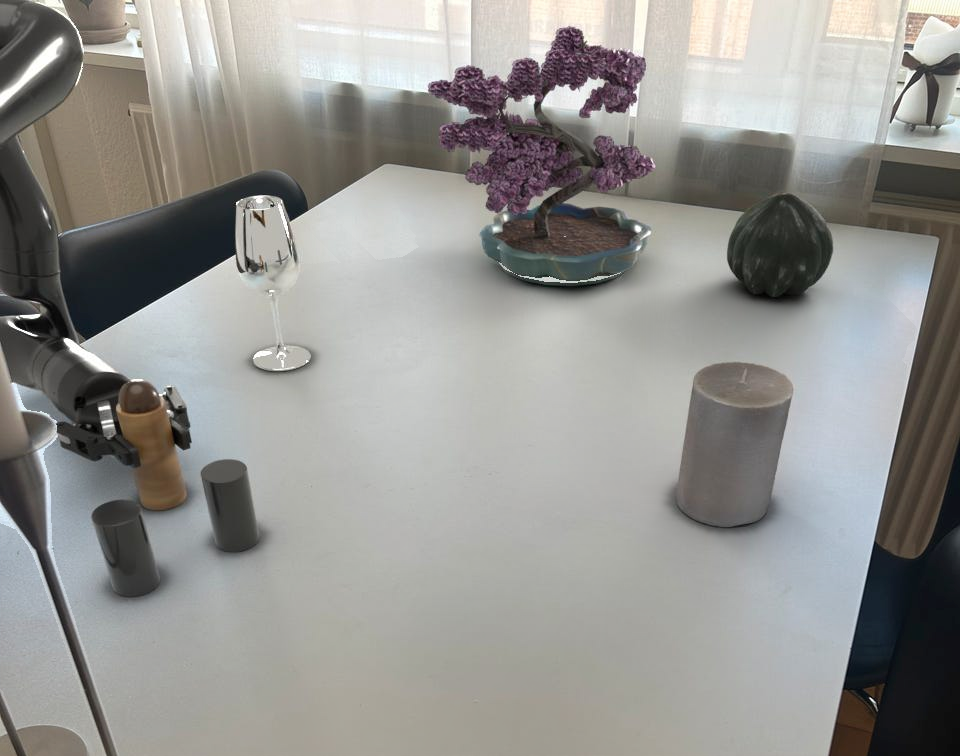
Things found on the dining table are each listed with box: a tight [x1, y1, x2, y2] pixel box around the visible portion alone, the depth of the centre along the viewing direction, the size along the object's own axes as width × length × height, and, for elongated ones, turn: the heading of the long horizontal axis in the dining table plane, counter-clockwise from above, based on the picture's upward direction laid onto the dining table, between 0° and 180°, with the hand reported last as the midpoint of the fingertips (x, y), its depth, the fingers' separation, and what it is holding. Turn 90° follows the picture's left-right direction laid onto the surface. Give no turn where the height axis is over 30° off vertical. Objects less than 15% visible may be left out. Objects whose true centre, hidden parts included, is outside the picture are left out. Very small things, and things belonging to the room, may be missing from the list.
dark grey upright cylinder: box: [90, 499, 161, 598], centre depth 93 cm, size 4×4×8 cm
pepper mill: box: [116, 378, 188, 511], centre depth 103 cm, size 5×5×14 cm
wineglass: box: [234, 195, 312, 372], centre depth 126 cm, size 8×8×20 cm
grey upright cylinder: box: [200, 458, 260, 553], centre depth 98 cm, size 4×4×8 cm
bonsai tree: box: [427, 25, 657, 287], centre depth 148 cm, size 35×27×32 cm
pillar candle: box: [675, 361, 794, 528], centre depth 101 cm, size 10×10×15 cm
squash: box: [726, 191, 834, 298], centre depth 147 cm, size 14×15×15 cm
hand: (161, 449), depth 101 cm, fingers closed on pepper mill, 5 cm apart
